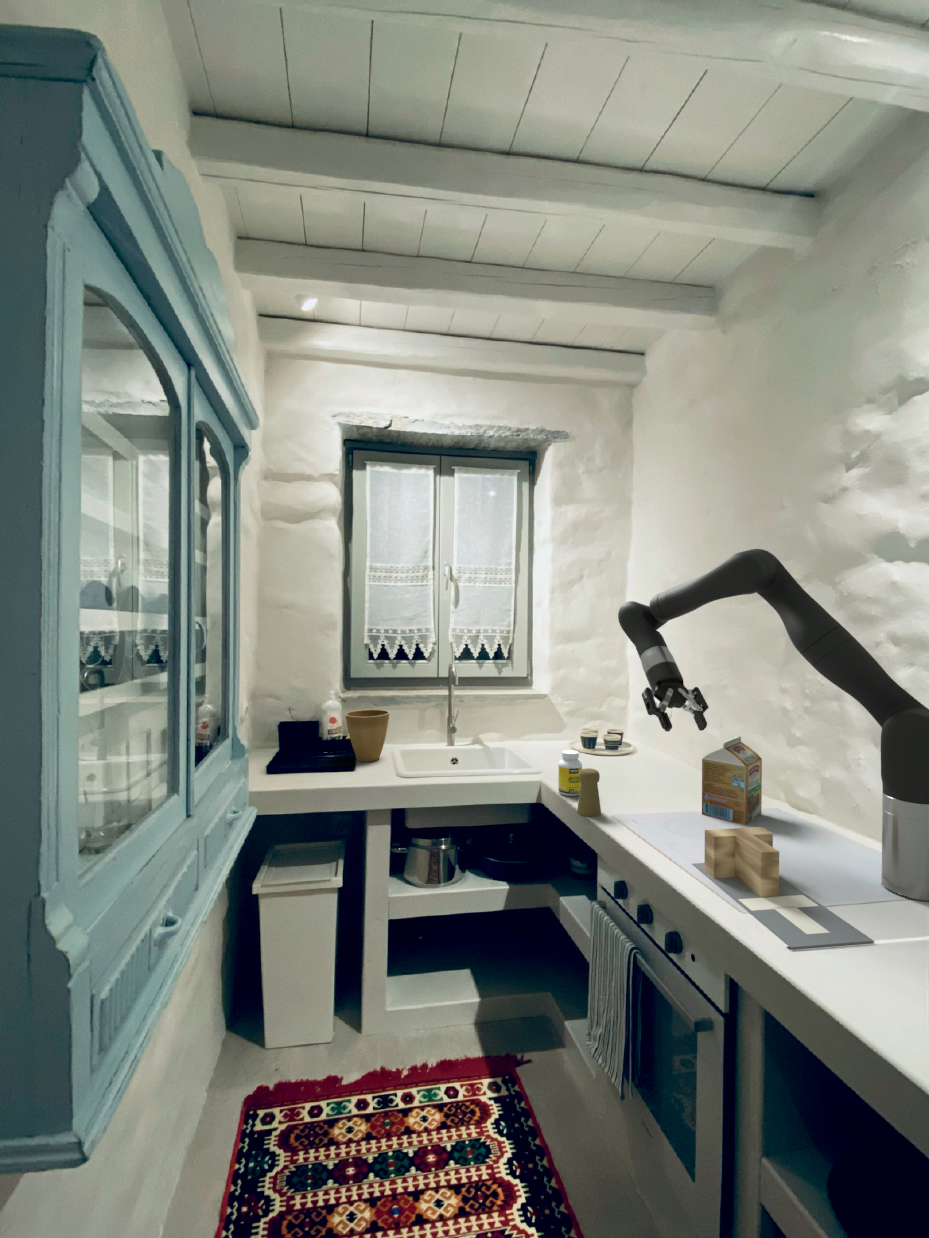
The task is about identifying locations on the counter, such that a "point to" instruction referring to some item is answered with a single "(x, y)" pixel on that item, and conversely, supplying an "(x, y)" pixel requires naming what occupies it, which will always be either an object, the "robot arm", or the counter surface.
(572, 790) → the pill bottle
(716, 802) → the milk carton
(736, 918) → the counter surface
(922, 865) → the robot arm
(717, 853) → the oak T block
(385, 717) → the plant pot
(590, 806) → the tan rounded upright piece
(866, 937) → the slate mat
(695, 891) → the counter surface
